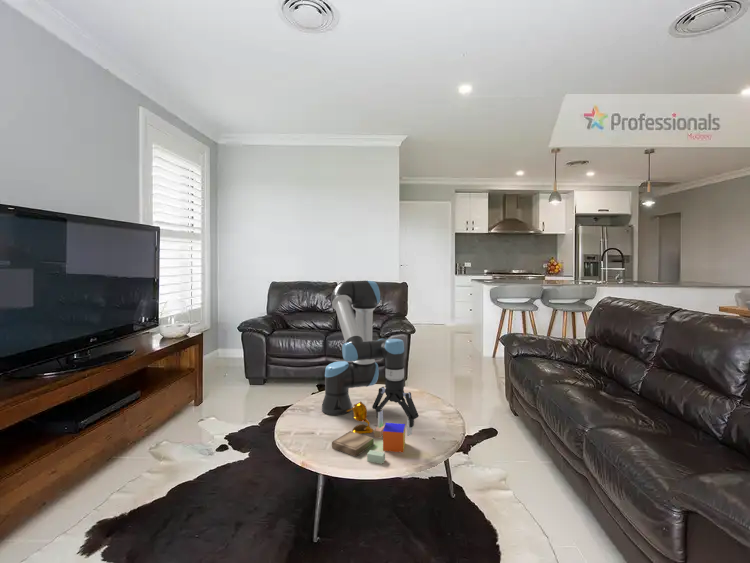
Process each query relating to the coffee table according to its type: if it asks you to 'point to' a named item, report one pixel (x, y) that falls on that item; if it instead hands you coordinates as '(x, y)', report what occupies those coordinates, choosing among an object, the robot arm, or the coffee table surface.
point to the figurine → (361, 419)
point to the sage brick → (375, 456)
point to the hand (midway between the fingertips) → (394, 430)
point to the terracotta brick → (378, 431)
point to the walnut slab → (352, 443)
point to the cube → (394, 437)
